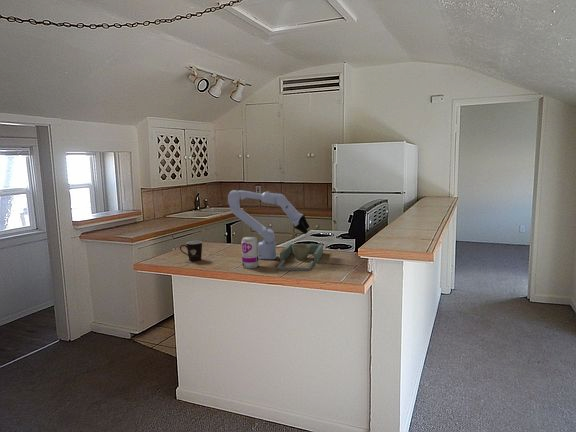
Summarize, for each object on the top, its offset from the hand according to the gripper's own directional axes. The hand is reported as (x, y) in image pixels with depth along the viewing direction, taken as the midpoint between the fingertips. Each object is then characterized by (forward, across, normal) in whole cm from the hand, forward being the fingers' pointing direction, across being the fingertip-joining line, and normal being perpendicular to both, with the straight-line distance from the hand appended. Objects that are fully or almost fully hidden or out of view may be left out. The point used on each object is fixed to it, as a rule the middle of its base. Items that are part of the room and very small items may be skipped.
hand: (307, 230), depth 236 cm
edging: (+6, -23, +9) cm, 26 cm away
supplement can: (-9, -26, +27) cm, 39 cm away
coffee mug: (-29, -15, +57) cm, 65 cm away
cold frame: (+9, -7, +10) cm, 15 cm away
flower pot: (+9, -9, +10) cm, 16 cm away
